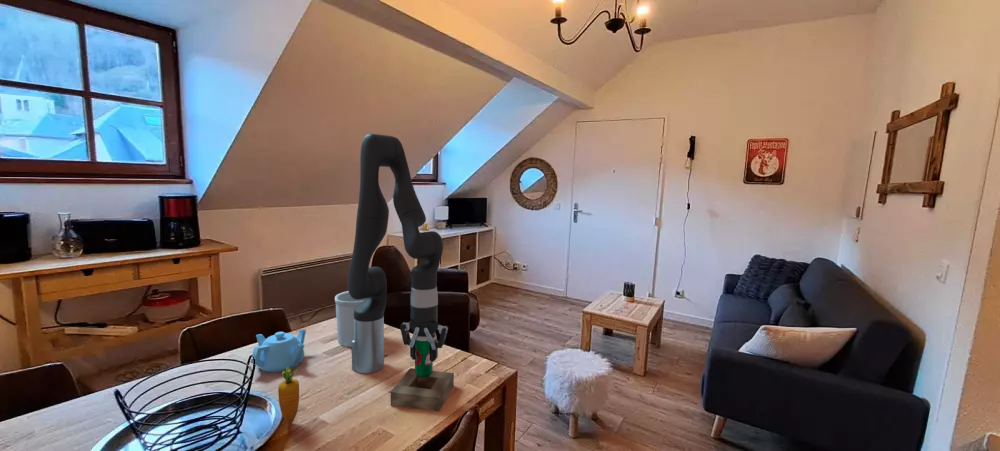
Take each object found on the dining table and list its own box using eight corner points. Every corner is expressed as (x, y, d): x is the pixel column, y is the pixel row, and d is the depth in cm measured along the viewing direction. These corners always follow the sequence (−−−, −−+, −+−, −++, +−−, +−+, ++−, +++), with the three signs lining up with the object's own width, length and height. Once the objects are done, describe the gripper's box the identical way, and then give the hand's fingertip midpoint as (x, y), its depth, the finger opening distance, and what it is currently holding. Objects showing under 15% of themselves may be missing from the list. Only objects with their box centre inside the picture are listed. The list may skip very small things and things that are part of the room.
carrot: (284, 418, 104) (282, 363, 102) (304, 417, 105) (302, 363, 103) (275, 430, 99) (272, 373, 97) (296, 430, 100) (294, 372, 98)
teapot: (257, 357, 137) (256, 327, 136) (306, 350, 143) (305, 321, 142) (250, 378, 123) (248, 345, 122) (304, 370, 129) (303, 338, 128)
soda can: (428, 379, 113) (428, 338, 112) (411, 377, 114) (411, 336, 113) (435, 371, 118) (435, 331, 117) (418, 368, 119) (419, 329, 118)
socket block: (390, 405, 111) (390, 391, 111) (409, 380, 125) (409, 368, 124) (439, 411, 109) (439, 398, 109) (453, 385, 123) (453, 373, 122)
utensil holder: (345, 351, 143) (344, 304, 141) (329, 338, 154) (328, 294, 152) (383, 341, 153) (383, 296, 151) (366, 329, 164) (366, 287, 162)
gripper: (394, 304, 111) (394, 363, 113) (444, 308, 109) (444, 368, 111) (405, 296, 118) (405, 351, 120) (452, 300, 116) (451, 356, 118)
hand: (424, 359), depth 116 cm, fingers closed on soda can, 5 cm apart
